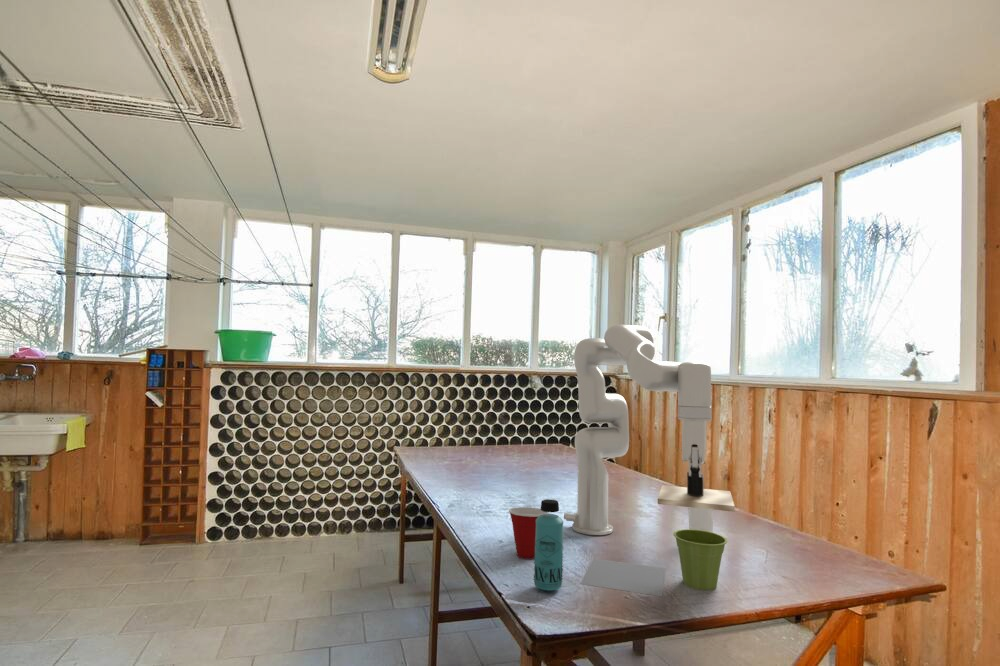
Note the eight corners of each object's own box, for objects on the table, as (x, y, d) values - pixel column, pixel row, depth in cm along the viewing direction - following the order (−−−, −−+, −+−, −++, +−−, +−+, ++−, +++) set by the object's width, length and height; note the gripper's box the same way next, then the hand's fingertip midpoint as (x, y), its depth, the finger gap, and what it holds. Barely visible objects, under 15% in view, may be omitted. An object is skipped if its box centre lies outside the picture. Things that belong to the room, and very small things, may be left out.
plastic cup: (552, 551, 145) (553, 506, 145) (542, 564, 134) (543, 516, 135) (514, 546, 148) (515, 502, 149) (502, 559, 138) (503, 512, 139)
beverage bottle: (531, 586, 121) (532, 496, 122) (560, 585, 121) (561, 496, 123) (535, 598, 114) (537, 504, 116) (566, 597, 115) (567, 503, 116)
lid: (657, 504, 120) (657, 476, 120) (662, 490, 135) (661, 465, 135) (734, 511, 114) (734, 482, 115) (730, 496, 129) (730, 470, 130)
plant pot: (723, 601, 115) (722, 548, 116) (667, 588, 121) (667, 538, 122) (731, 583, 125) (731, 534, 126) (680, 572, 131) (679, 525, 132)
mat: (580, 585, 121) (580, 583, 121) (593, 560, 138) (593, 558, 138) (662, 598, 115) (662, 596, 115) (665, 570, 132) (665, 568, 132)
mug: (711, 549, 148) (710, 506, 149) (686, 545, 152) (686, 502, 153) (716, 540, 157) (716, 499, 158) (693, 536, 161) (692, 496, 161)
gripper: (679, 411, 135) (679, 484, 134) (676, 415, 120) (677, 498, 118) (710, 412, 133) (711, 487, 131) (712, 417, 117) (713, 501, 116)
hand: (695, 491), depth 125 cm, fingers closed on lid, 3 cm apart
